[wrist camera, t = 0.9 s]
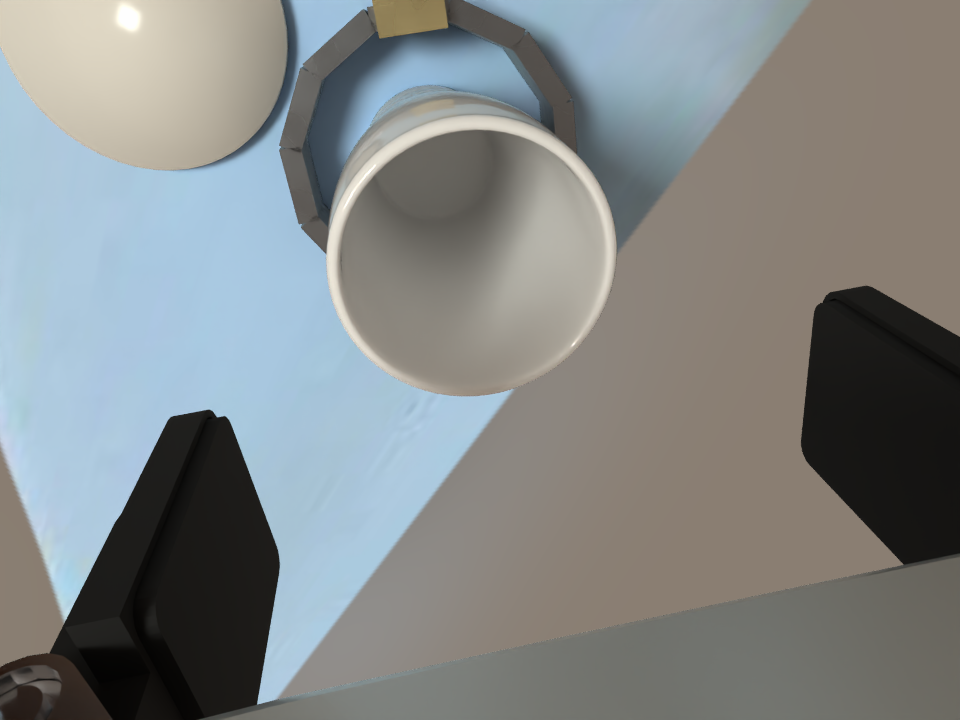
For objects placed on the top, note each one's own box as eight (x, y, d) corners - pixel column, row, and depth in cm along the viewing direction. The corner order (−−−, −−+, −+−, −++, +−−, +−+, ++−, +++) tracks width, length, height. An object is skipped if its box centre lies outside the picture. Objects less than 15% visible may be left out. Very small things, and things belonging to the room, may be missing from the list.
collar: (255, 18, 26) (240, 19, 23) (548, -27, 26) (569, -31, 23) (329, 303, 31) (324, 333, 28) (570, 259, 32) (590, 285, 29)
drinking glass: (314, 118, 27) (256, 215, 14) (462, 30, 27) (547, 45, 13) (401, 258, 31) (420, 446, 17) (536, 183, 30) (664, 318, 17)
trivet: (-59, -114, 23) (-69, -117, 22) (244, -156, 23) (241, -160, 23) (66, 186, 27) (60, 189, 27) (316, 145, 28) (315, 147, 27)
